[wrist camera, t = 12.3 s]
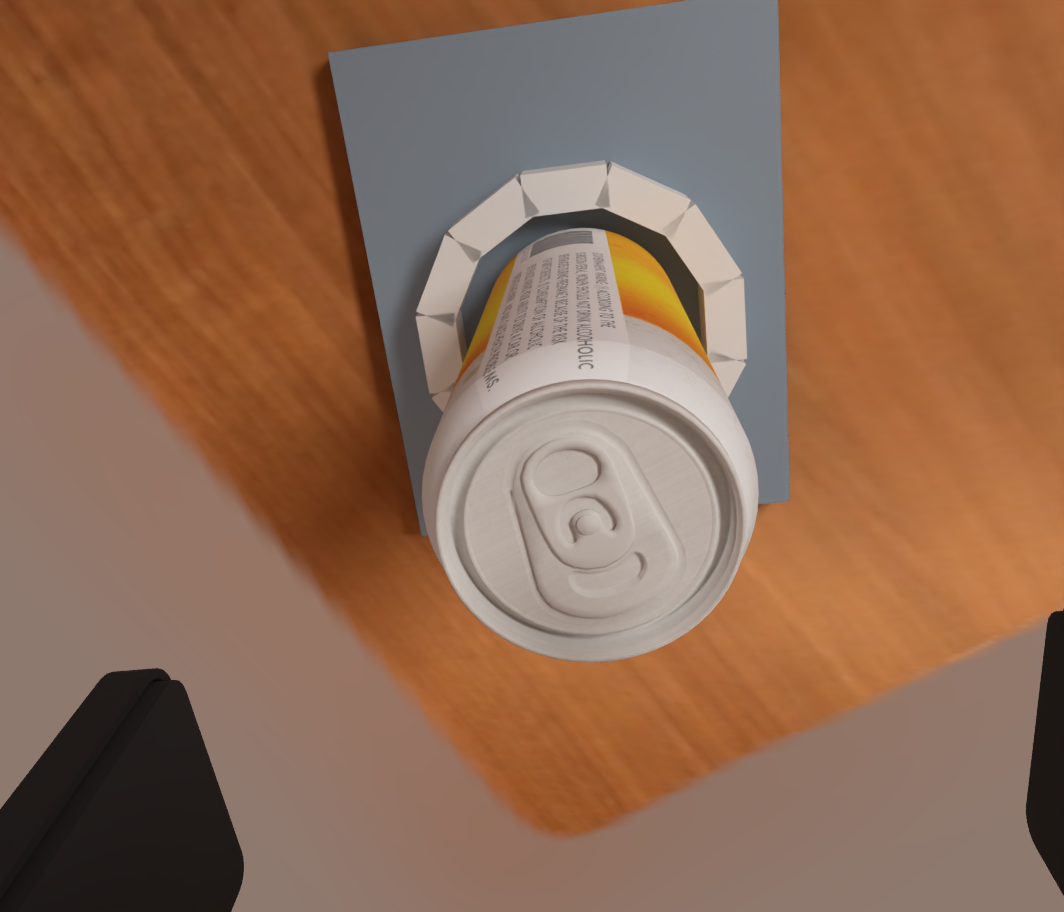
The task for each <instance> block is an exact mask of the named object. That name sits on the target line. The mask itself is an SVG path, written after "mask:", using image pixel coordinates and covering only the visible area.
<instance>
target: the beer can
mask: <svg viewBox="0 0 1064 912" xmlns="http://www.w3.org/2000/svg"><path fill="white" fill-rule="evenodd" d="M758 497H759V490H758V475H757V470H756V464H755V459H754V455H753V452H752V449H751V446H750V443H749V440H748V438H747V436H746V434H745V432H744V430H743V428H742V426H741V424H740V421H739V419H738V417H737V415H736V413H735V411H734V409H733V407H732V405H731V403H730V401H729V399H728V397H727V395H726V393H725V391H724V389H723V387H722V385H721V383H720V381H719V379H718V377H717V375H716V373H715V371H714V369H713V367H712V365H711V363H710V361H709V359H708V357H707V355H706V353H705V351H704V349H703V347H702V344H701V342H700V340H699V338H698V336H697V334H696V332H695V330H694V328H693V326H692V324H691V322H690V320H689V318H688V316H687V314H686V312H685V310H684V308H683V306H682V304H681V302H680V300H679V298H678V296H677V294H676V292H675V290H674V288H673V286H672V284H671V282H670V280H669V278H668V276H667V274H666V273H665V271H664V270H663V268H662V267H661V265H660V264H659V263H658V262H657V261H656V259H655V258H654V257H653V256H652V255H651V254H650V253H649V252H647V251H646V250H645V249H644V248H642V247H641V246H640V245H638V244H637V243H635V242H633V241H632V240H630V239H628V238H626V237H624V236H621V235H619V234H617V233H613V232H610V231H606V230H601V229H595V228H574V229H567V230H562V231H557V232H554V233H551V234H548V235H546V236H544V237H542V238H539V239H537V240H536V241H534V242H532V243H531V244H529V245H527V246H526V247H525V248H523V249H522V250H521V251H520V252H518V253H517V254H516V255H515V256H514V257H513V258H512V259H511V260H510V261H509V263H508V264H507V265H506V267H505V268H504V269H503V270H502V272H501V274H500V275H499V277H498V279H497V281H496V283H495V285H494V287H493V289H492V292H491V294H490V297H489V299H488V302H487V304H486V307H485V309H484V312H483V314H482V317H481V319H480V322H479V324H478V327H477V329H476V332H475V334H474V337H473V339H472V342H471V344H470V347H469V350H468V352H467V355H466V357H465V360H464V362H463V365H462V367H461V370H460V372H459V375H458V377H457V380H456V382H455V385H454V387H453V390H452V392H451V395H450V397H449V400H448V402H447V405H446V407H445V410H444V412H443V415H442V417H441V420H440V422H439V425H438V427H437V430H436V432H435V435H434V438H433V440H432V443H431V446H430V449H429V452H428V455H427V458H426V462H425V468H424V473H423V481H422V505H423V515H424V520H425V525H426V530H427V533H428V536H429V539H430V542H431V545H432V547H433V549H434V551H435V554H436V556H437V558H438V560H439V562H440V564H441V565H442V567H443V568H444V571H445V573H446V575H447V577H448V579H449V581H450V583H451V585H452V587H453V589H454V590H455V592H456V593H457V595H458V596H459V598H460V600H461V601H462V602H463V603H464V604H465V606H466V607H467V608H468V609H469V610H470V612H471V613H472V614H473V615H474V616H475V617H476V618H477V619H478V620H480V621H481V622H482V623H483V624H484V625H485V626H487V627H488V628H489V629H490V630H492V631H493V632H494V633H496V634H497V635H499V636H501V637H502V638H504V639H505V640H507V641H509V642H510V643H513V644H515V645H517V646H519V647H521V648H523V649H525V650H528V651H531V652H533V653H536V654H539V655H542V656H546V657H550V658H554V659H560V660H566V661H573V662H608V661H615V660H622V659H627V658H631V657H635V656H639V655H642V654H645V653H648V652H651V651H653V650H656V649H658V648H660V647H662V646H665V645H667V644H669V643H671V642H673V641H674V640H676V639H678V638H679V637H681V636H682V635H684V634H686V633H687V632H688V631H690V630H691V629H692V628H694V627H695V626H696V625H697V624H699V623H700V622H701V621H702V620H703V619H704V618H705V617H706V616H707V615H708V614H709V613H710V612H711V611H712V610H713V609H714V607H715V606H716V605H717V604H718V603H719V601H720V600H721V599H722V597H723V596H724V594H725V593H726V591H727V590H728V588H729V587H730V585H731V583H732V581H733V579H734V577H735V574H736V572H737V570H738V567H739V564H740V561H741V559H742V557H743V555H744V553H745V551H746V549H747V547H748V545H749V542H750V539H751V536H752V533H753V530H754V526H755V521H756V516H757V510H758Z"/></svg>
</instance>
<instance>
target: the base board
mask: <svg viewBox="0 0 1064 912" xmlns="http://www.w3.org/2000/svg"><path fill="white" fill-rule="evenodd" d="M328 57H329V62H330V67H331V73H332V78H333V83H334V88H335V93H336V98H337V103H338V109H339V114H340V119H341V124H342V129H343V134H344V139H345V145H346V150H347V155H348V160H349V165H350V170H351V175H352V181H353V186H354V191H355V196H356V201H357V206H358V211H359V217H360V222H361V227H362V232H363V237H364V242H365V247H366V253H367V258H368V263H369V268H370V273H371V278H372V284H373V289H374V294H375V299H376V304H377V309H378V314H379V320H380V325H381V330H382V335H383V340H384V345H385V350H386V356H387V361H388V366H389V371H390V376H391V381H392V386H393V392H394V397H395V402H396V407H397V412H398V417H399V422H400V428H401V433H402V438H403V443H404V448H405V453H406V458H407V464H408V469H409V474H410V479H411V484H412V489H413V494H414V500H415V505H416V510H417V515H418V520H419V525H420V530H421V536H422V537H423V536H428V533H427V530H426V525H425V520H424V515H423V505H422V481H423V473H424V468H425V462H426V458H427V455H428V452H429V449H430V446H431V443H432V440H433V438H434V435H435V432H436V430H437V427H438V425H439V422H440V420H441V417H442V415H443V412H444V410H445V407H446V405H447V402H448V400H449V397H450V395H451V392H452V390H453V387H454V385H455V382H456V380H457V377H458V375H459V372H460V370H461V367H462V365H463V362H464V360H465V357H466V355H467V352H468V350H469V347H470V344H471V342H472V339H473V337H474V334H475V332H476V329H477V327H478V324H479V322H480V319H481V317H482V314H483V312H484V309H485V307H486V304H487V302H488V299H489V297H490V294H491V292H492V289H493V287H494V285H495V283H496V281H497V279H498V277H499V275H500V274H501V272H502V270H503V269H504V268H505V267H506V265H507V264H508V263H509V261H510V260H511V259H512V258H513V257H514V256H515V255H516V254H517V253H518V252H520V251H521V250H522V249H523V248H525V247H526V246H527V245H529V244H531V243H532V242H534V241H536V240H537V239H539V238H542V237H544V236H546V235H548V234H551V233H554V232H557V231H562V230H567V229H574V228H595V229H601V230H606V231H610V232H613V233H617V234H619V235H621V236H624V237H626V238H628V239H630V240H632V241H633V242H635V243H637V244H638V245H640V246H641V247H642V248H644V249H645V250H646V251H647V252H649V253H650V254H651V255H652V256H653V257H654V258H655V259H656V261H657V262H658V263H659V264H660V265H661V267H662V268H663V270H664V271H665V273H666V274H667V276H668V278H669V280H670V282H671V284H672V286H673V288H674V290H675V292H676V294H677V296H678V298H679V300H680V302H681V304H682V306H683V308H684V310H685V312H686V314H687V316H688V318H689V320H690V322H691V324H692V326H693V328H694V330H695V332H696V334H697V336H698V338H699V340H700V342H701V344H702V347H703V349H704V351H705V353H706V355H707V357H708V359H709V361H710V363H711V365H712V367H713V369H714V371H715V373H716V375H717V377H718V379H719V381H720V383H721V385H722V387H723V389H724V391H725V393H726V395H727V397H728V399H729V401H730V403H731V405H732V407H733V409H734V411H735V413H736V415H737V417H738V419H739V421H740V424H741V426H742V428H743V430H744V432H745V434H746V436H747V438H748V440H749V443H750V446H751V449H752V452H753V455H754V459H755V464H756V470H757V475H758V490H759V497H758V504H768V503H778V502H789V501H790V491H789V448H788V406H787V364H786V322H785V280H784V237H783V195H782V153H781V111H780V68H779V26H778V0H687V1H680V2H674V3H667V4H660V5H653V6H646V7H639V8H632V9H625V10H618V11H611V12H605V13H598V14H591V15H584V16H577V17H570V18H563V19H556V20H549V21H542V22H535V23H529V24H522V25H515V26H508V27H501V28H494V29H487V30H480V31H473V32H466V33H460V34H453V35H446V36H439V37H432V38H425V39H418V40H411V41H404V42H397V43H391V44H384V45H377V46H370V47H363V48H356V49H349V50H342V51H335V52H328Z"/></svg>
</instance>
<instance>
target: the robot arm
mask: <svg viewBox="0 0 1064 912" xmlns="http://www.w3.org/2000/svg"><path fill="white" fill-rule="evenodd" d="M1026 816H1027V823H1028V828H1029V832H1030V834H1031V837H1032V840H1033V842H1034V844H1035V846H1036V848H1037V850H1038V852H1039V854H1040V855H1041V857H1042V859H1043V861H1044V862H1045V864H1046V866H1047V867H1048V869H1049V871H1050V873H1051V874H1052V876H1053V878H1054V880H1055V881H1056V883H1057V885H1058V886H1059V888H1060V890H1061V892H1062V893H1063V895H1064V610H1063V611H1055V612H1053V613H1052V614H1051V615H1050V617H1049V619H1048V623H1047V630H1046V639H1045V648H1044V656H1043V665H1042V673H1041V682H1040V691H1039V699H1038V708H1037V716H1036V725H1035V734H1034V743H1033V751H1032V760H1031V768H1030V777H1029V786H1028V794H1027V803H1026ZM243 872H244V861H243V855H242V851H241V848H240V845H239V842H238V840H237V837H236V834H235V831H234V828H233V825H232V822H231V819H230V816H229V813H228V810H227V808H226V805H225V802H224V799H223V796H222V793H221V790H220V787H219V785H218V782H217V779H216V776H215V773H214V770H213V767H212V764H211V762H210V758H209V756H208V753H207V750H206V747H205V744H204V741H203V738H202V735H201V732H200V730H199V727H198V724H197V721H196V718H195V715H194V712H193V710H192V707H191V704H190V701H189V698H188V695H187V692H186V690H185V688H184V686H183V684H182V683H181V682H180V681H177V680H171V679H170V677H169V675H168V674H167V673H166V672H165V671H164V670H162V669H158V668H155V669H142V670H130V671H117V672H111V673H108V674H106V675H105V676H104V677H103V678H102V679H100V681H99V682H98V683H97V685H96V686H95V688H94V689H93V690H92V691H91V692H90V694H89V695H88V696H87V697H86V699H85V700H84V701H83V703H82V704H81V705H80V707H79V708H78V709H77V710H76V712H75V713H74V714H73V716H72V717H71V718H70V720H69V721H68V722H67V723H66V725H65V726H64V727H63V729H62V730H61V731H60V733H59V734H58V735H57V737H56V738H55V739H54V740H53V742H52V743H51V744H50V746H49V747H48V748H47V750H46V751H45V752H44V753H43V755H42V756H41V757H40V759H39V760H38V761H37V762H36V764H35V765H34V766H33V768H32V769H31V770H30V771H29V773H28V774H27V775H26V777H25V778H24V779H23V781H22V782H21V783H20V784H19V786H18V787H17V788H16V790H15V791H14V792H13V794H12V795H11V796H10V798H9V799H8V800H7V801H6V803H5V804H4V805H3V807H2V808H1V809H0V912H231V910H232V908H233V906H234V903H235V901H236V898H237V896H238V893H239V891H240V887H241V884H242V880H243Z"/></svg>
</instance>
